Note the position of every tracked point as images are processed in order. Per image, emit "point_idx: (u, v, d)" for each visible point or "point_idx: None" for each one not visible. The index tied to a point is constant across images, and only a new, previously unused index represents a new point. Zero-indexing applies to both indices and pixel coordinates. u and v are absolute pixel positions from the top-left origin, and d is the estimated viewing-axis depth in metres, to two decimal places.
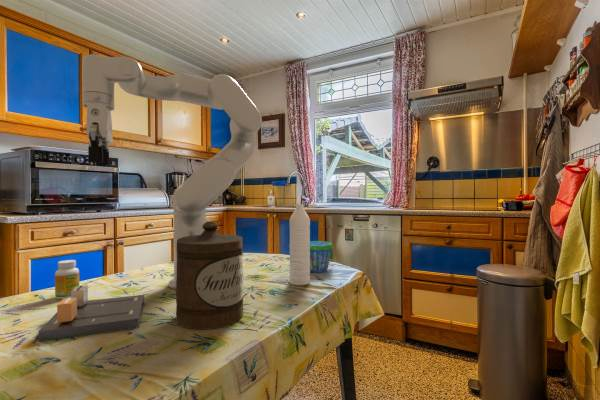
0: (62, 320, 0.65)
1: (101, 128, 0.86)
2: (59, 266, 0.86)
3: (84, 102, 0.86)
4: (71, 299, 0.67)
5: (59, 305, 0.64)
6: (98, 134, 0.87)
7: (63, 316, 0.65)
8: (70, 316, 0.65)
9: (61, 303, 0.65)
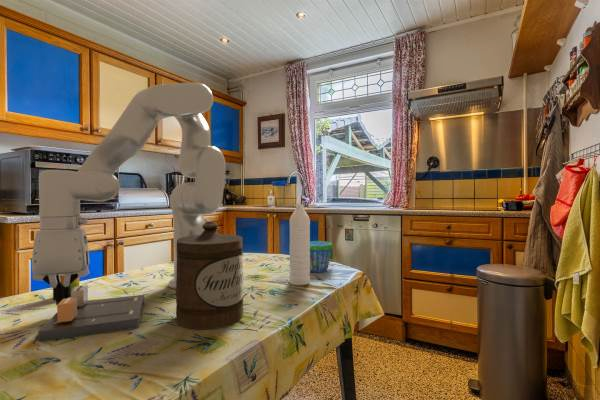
0: (62, 320, 0.65)
1: (88, 256, 0.77)
2: None
3: (68, 228, 0.72)
4: (71, 299, 0.67)
5: (59, 305, 0.64)
6: None
7: (63, 316, 0.65)
8: (70, 316, 0.65)
9: (61, 303, 0.65)
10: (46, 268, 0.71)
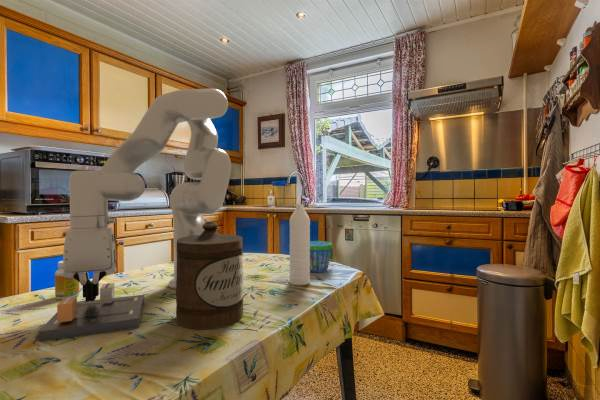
0: (62, 320, 0.65)
1: (115, 254, 0.79)
2: (59, 266, 0.86)
3: (98, 227, 0.74)
4: (71, 299, 0.67)
5: (59, 305, 0.64)
6: None
7: (63, 316, 0.65)
8: (70, 316, 0.65)
9: (61, 303, 0.65)
10: (76, 265, 0.73)
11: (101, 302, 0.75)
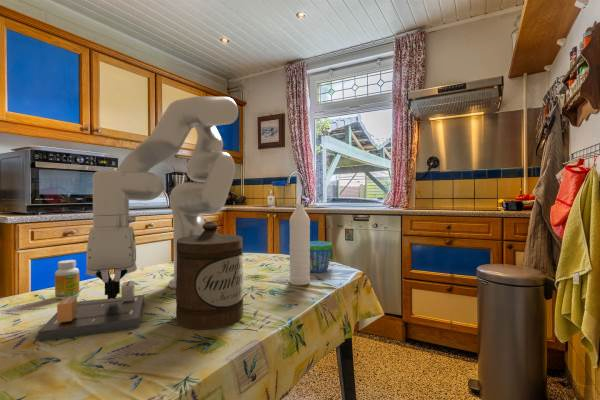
0: (62, 320, 0.65)
1: (135, 252, 0.81)
2: (59, 266, 0.86)
3: (120, 226, 0.76)
4: (71, 299, 0.67)
5: (59, 305, 0.64)
6: None
7: (63, 316, 0.65)
8: (70, 316, 0.65)
9: (61, 303, 0.65)
10: (99, 263, 0.75)
11: (122, 300, 0.77)
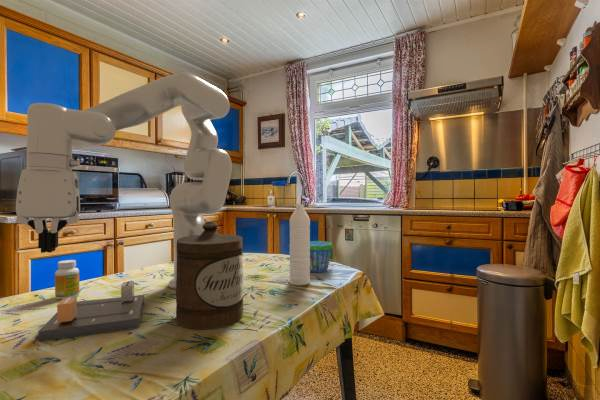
0: (62, 320, 0.65)
1: (79, 203, 0.70)
2: (59, 266, 0.86)
3: (58, 168, 0.65)
4: (71, 299, 0.67)
5: (59, 305, 0.64)
6: None
7: (63, 316, 0.65)
8: (70, 316, 0.65)
9: (61, 303, 0.65)
10: (31, 210, 0.64)
11: (122, 300, 0.77)
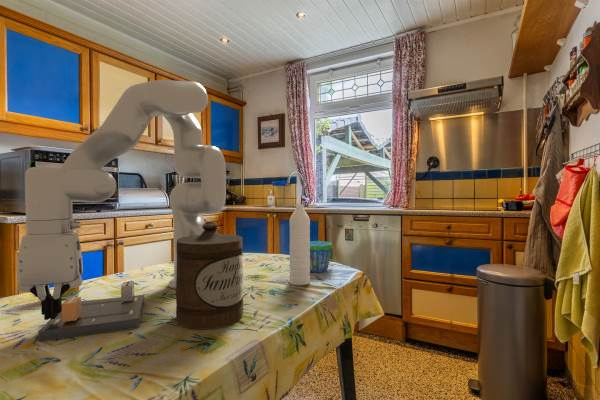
0: (66, 319, 0.65)
1: (82, 264, 0.69)
2: None
3: (59, 233, 0.63)
4: (75, 299, 0.68)
5: (64, 305, 0.65)
6: None
7: (68, 316, 0.65)
8: (74, 315, 0.65)
9: (66, 302, 0.65)
10: (33, 278, 0.63)
11: (122, 300, 0.77)
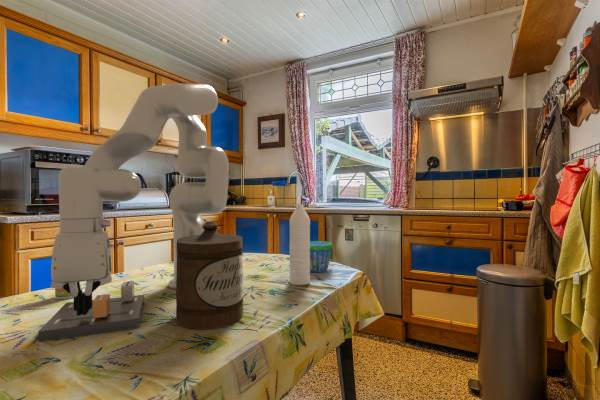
0: (98, 316, 0.67)
1: (111, 261, 0.71)
2: None
3: (91, 232, 0.65)
4: (105, 295, 0.70)
5: (95, 301, 0.67)
6: None
7: (99, 312, 0.67)
8: (105, 312, 0.67)
9: (97, 299, 0.67)
10: (66, 275, 0.65)
11: (122, 300, 0.77)
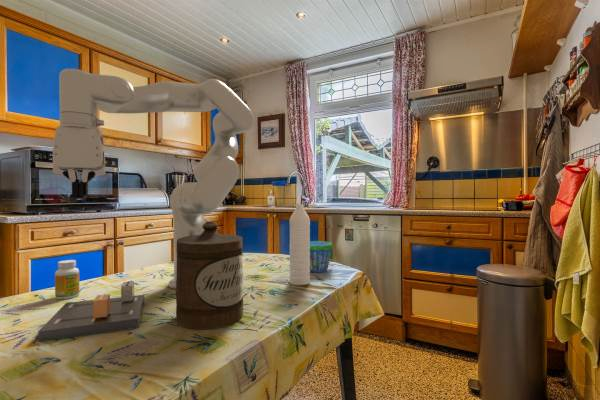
0: (98, 316, 0.67)
1: (104, 158, 0.81)
2: (59, 266, 0.86)
3: (87, 125, 0.76)
4: (105, 295, 0.70)
5: (95, 301, 0.67)
6: None
7: (99, 312, 0.67)
8: (105, 312, 0.67)
9: (97, 299, 0.68)
10: (65, 161, 0.75)
11: (122, 300, 0.77)
